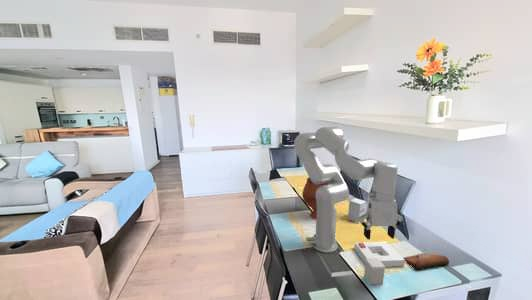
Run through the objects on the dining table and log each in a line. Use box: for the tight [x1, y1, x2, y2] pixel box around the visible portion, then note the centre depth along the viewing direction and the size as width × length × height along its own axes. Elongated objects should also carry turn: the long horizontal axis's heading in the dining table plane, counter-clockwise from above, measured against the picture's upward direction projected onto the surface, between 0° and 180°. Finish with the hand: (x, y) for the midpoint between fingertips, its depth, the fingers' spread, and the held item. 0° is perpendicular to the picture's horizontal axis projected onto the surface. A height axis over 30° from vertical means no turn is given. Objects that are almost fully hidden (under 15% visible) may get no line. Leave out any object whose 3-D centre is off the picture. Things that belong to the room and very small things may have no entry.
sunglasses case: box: [402, 253, 450, 271], centre depth 100 cm, size 18×7×7 cm
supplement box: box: [347, 197, 367, 224], centre depth 139 cm, size 7×7×13 cm
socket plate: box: [353, 241, 406, 268], centre depth 104 cm, size 16×14×4 cm
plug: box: [363, 258, 386, 286], centre depth 89 cm, size 5×5×8 cm
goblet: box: [302, 177, 328, 220], centre depth 141 cm, size 19×19×25 cm
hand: (378, 237), depth 87 cm, fingers open, 9 cm apart
